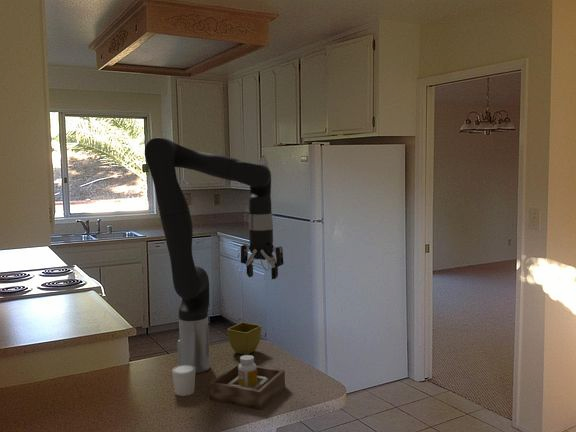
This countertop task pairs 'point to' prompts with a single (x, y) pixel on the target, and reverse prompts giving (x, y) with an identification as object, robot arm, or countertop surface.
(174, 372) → the white cup
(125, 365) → the countertop surface
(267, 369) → the walled box
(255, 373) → the supplement bottle
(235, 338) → the flower pot
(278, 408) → the countertop surface
